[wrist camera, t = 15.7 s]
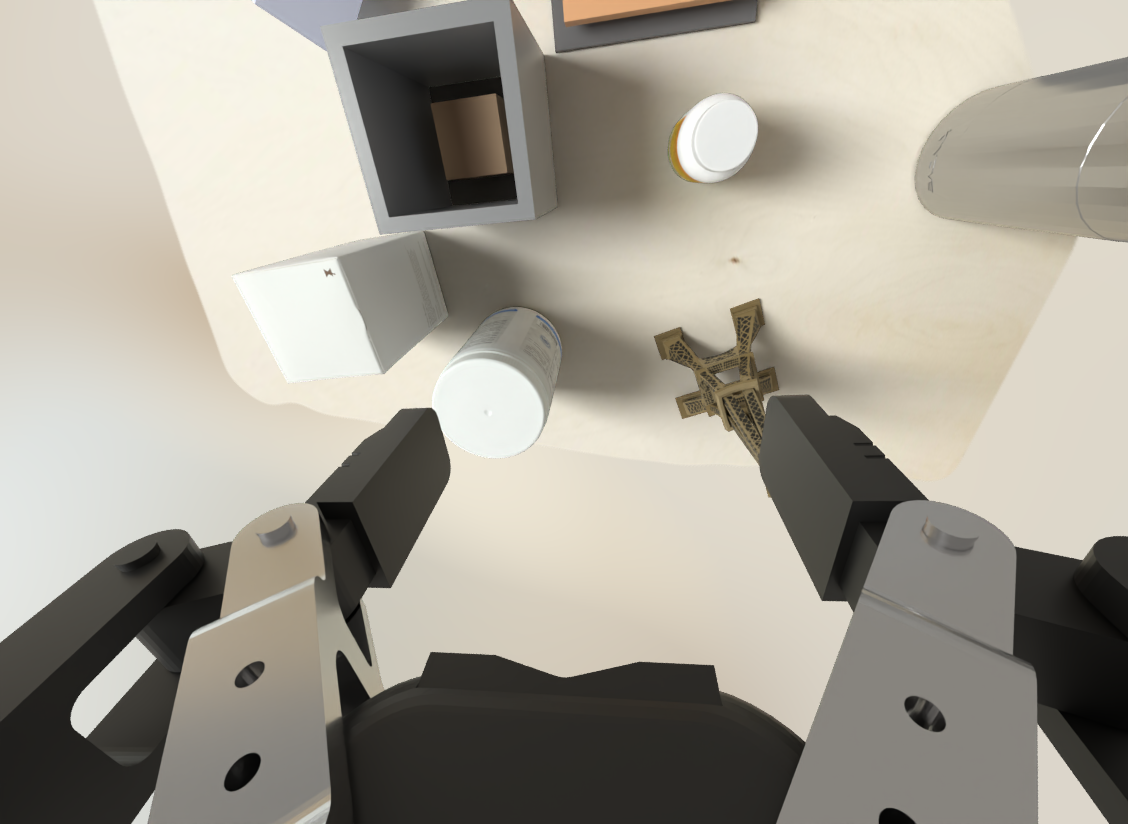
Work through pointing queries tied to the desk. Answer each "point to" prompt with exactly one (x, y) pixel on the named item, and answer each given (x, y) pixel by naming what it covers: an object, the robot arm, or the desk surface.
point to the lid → (619, 9)
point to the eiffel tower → (735, 399)
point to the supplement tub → (500, 384)
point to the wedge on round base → (311, 14)
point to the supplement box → (346, 306)
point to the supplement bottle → (713, 139)
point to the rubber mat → (650, 24)
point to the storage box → (404, 116)
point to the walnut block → (473, 137)
